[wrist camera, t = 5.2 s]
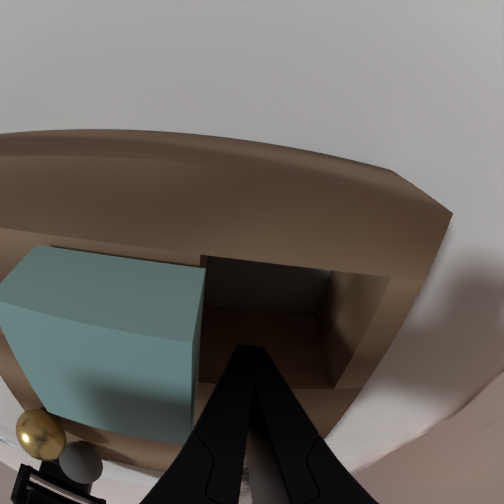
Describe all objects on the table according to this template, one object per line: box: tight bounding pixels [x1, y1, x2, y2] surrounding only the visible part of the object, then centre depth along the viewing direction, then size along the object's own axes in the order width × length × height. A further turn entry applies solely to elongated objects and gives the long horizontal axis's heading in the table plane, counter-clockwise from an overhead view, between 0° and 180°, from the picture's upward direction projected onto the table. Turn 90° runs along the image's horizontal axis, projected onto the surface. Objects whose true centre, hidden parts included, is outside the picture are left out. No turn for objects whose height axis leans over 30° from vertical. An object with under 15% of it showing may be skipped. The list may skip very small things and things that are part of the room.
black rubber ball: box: [59, 442, 103, 484], centre depth 13 cm, size 3×3×3 cm
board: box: [0, 129, 453, 472], centre depth 13 cm, size 20×18×4 cm
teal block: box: [0, 245, 206, 446], centre depth 7 cm, size 5×5×2 cm
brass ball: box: [16, 409, 66, 461], centre depth 11 cm, size 3×3×3 cm
